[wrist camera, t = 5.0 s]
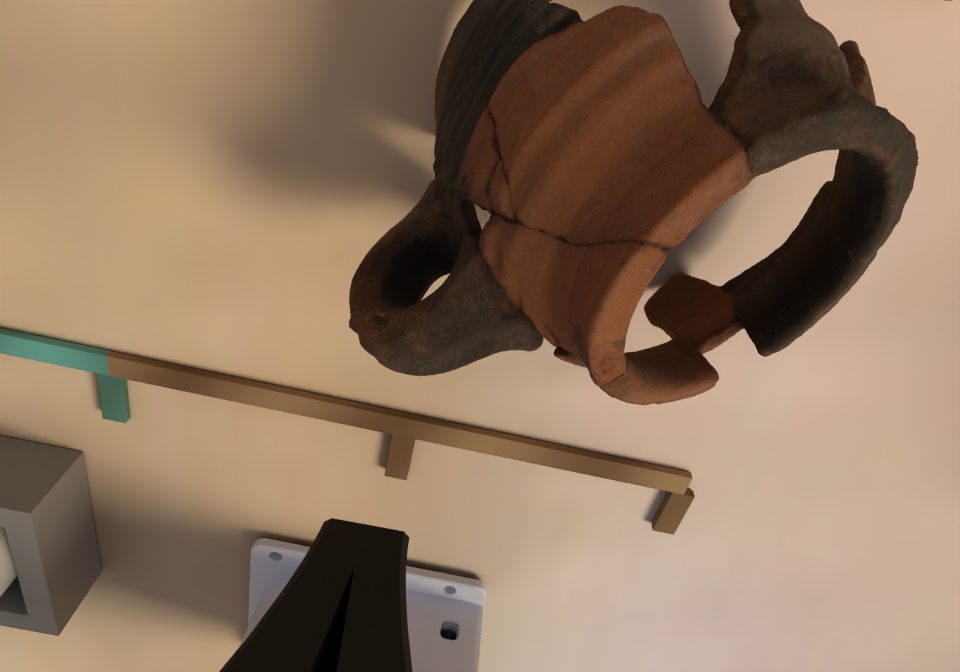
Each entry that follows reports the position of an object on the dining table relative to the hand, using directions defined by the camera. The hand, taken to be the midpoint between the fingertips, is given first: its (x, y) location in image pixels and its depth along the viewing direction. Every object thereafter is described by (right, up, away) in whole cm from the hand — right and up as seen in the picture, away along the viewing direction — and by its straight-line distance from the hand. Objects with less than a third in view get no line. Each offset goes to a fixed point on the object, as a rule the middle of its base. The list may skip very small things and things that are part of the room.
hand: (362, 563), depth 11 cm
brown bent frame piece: (+5, +9, +6) cm, 12 cm away
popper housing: (-17, -3, +15) cm, 22 cm away
